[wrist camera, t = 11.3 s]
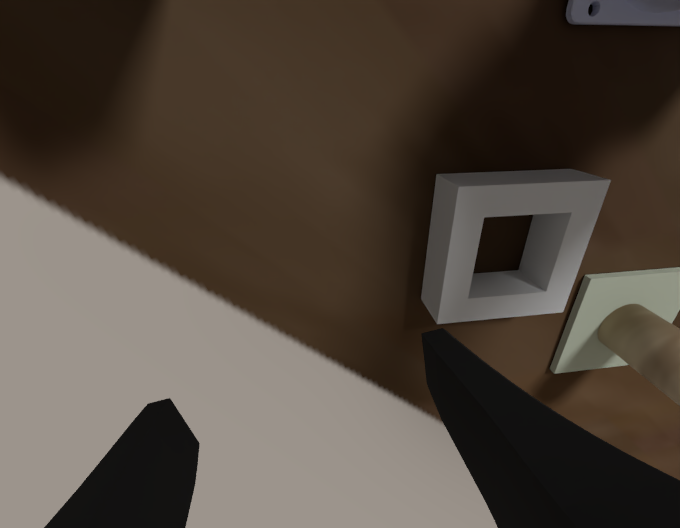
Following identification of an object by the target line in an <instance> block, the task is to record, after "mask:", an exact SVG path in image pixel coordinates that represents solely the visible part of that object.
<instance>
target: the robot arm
mask: <svg viewBox="0 0 680 528" xmlns="http://www.w3.org/2000/svg"><path fill="white" fill-rule="evenodd" d="M590 4H592V6H593V9H592V13H591V15H590V16H589V14H588V8H589V6H590ZM566 18H567V21H568V22H569V23H570V24H575V25H629V26H680V0H569V1H568V5H567V9H566ZM422 342H423V351H424V360H425V370H426V379H427V385H428V387H429V390H430V392H431V395H432V397H433V400H434V402H435V405H436V407H437V410H438V412H439V415H440V417H441V419H442V421H443V423H444V425H445V427H446V429H447V430H448V432H449V434H450V436H451V438H452V440H453V442H454V443H455V446H456V447H457V449H458V451H459V453H460V455H461V457H462V458H463V460H464V462H465V464H466V466H467V468H468V469H469V472H470V473H471V475H472V477H473V479H474V481H475V483H476V485H477V486H478V488H479V490H480V492H481V494H482V496H483V498H484V500H485V502H486V503H487V505H488V508H489V510H490V512H491V514H492V516H493V518H494V520H495V522H496V524H497V527H498V528H680V480H678V479H676V478H674V477H672V476H670V475H668V474H666V473H664V472H662V471H660V470H658V469H656V468H654V467H652V466H650V465H648V464H646V463H644V462H642V461H640V460H638V459H636V458H634V457H632V456H630V455H629V454H627V453H625V452H623V451H621V450H620V449H618V448H616V447H614V446H612V445H611V444H609V443H607V442H605V441H603V440H602V439H600V438H598V437H596V436H595V435H593V434H591V433H589V432H588V431H586V430H584V429H583V428H581V427H579V426H578V425H576V424H574V423H573V422H571V421H569V420H568V419H566V418H564V417H563V416H561V415H560V414H558V413H557V412H555V411H553V410H552V409H550V408H549V407H547V406H546V405H544V404H543V403H541V402H540V401H538V400H537V399H535V398H534V397H532V396H531V395H529V394H528V393H526V392H525V391H523V390H522V389H521V388H519V387H518V386H516V385H515V384H514V383H512V382H511V381H509V380H508V379H507V378H505V377H504V376H503V375H501V374H500V373H499V372H497V371H496V370H495V369H493V368H492V367H491V366H489V365H488V364H487V363H485V362H484V361H483V360H481V359H480V358H479V357H478V356H476V355H475V354H474V353H473V352H471V351H470V350H469V349H468V348H467V347H465V346H464V345H463V344H462V343H460V342H459V341H458V340H457V339H456V338H454V337H453V336H452V335H451V334H450V333H449V332H447V331H446V330H445V329H443V328H441V329H437V330H433V331H430V332H426V333H422ZM198 452H199V442H198V441H197V439H196V438H195V436H194V434H193V433H192V431H191V430H190V428H189V427H188V425H187V424H186V422H185V421H184V419H183V418H182V416H181V414H180V413H179V412H178V410H177V408H176V407H175V405H174V404H173V402H172V401H171V399H165V400H161V401H157V402H153V403H150V404H147V406H146V407H145V408H144V409H143V410H142V411H141V413H140V414H139V415H138V416H137V417H136V418H135V420H134V421H133V422H132V423H131V424H130V426H129V427H128V428H127V429H126V431H125V432H124V433H123V434H122V436H121V437H120V438H119V439H118V441H117V442H116V443H115V444H114V445H113V447H112V448H111V449H110V450H109V452H108V453H107V454H106V455H105V457H104V458H103V459H102V460H101V461H100V463H99V464H98V465H97V466H96V467H95V469H94V470H93V471H92V472H91V474H90V475H89V476H88V477H87V478H86V480H85V481H84V482H83V483H82V485H81V486H80V487H79V488H78V489H77V491H76V492H75V493H74V494H73V495H72V496H71V497H70V499H69V500H68V501H67V502H66V503H65V504H64V506H63V507H62V508H61V509H60V510H59V511H58V513H57V514H56V515H55V516H54V517H53V518H52V519H51V520H50V522H49V523H48V524H47V525H46V526H45V527H44V528H185V526H186V521H187V517H188V513H189V509H190V504H191V500H192V495H193V491H194V486H195V480H196V471H197V464H198V463H197V462H198Z"/></svg>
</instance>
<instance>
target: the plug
mask: <svg viewBox="0 0 680 528" xmlns="http://www.w3.org/2000/svg"><path fill="white" fill-rule="evenodd" d="M597 335H598V339H599V341H600V342H601V343H603V344H604V345H605V346H606V347H608V348H609V349H610V350H611V351H613V352H614V353H615V354H616V355H617V356H619V357H620V358H621V359H622V360H624V361H625V362H626V363H627V364H629V365H630V366H631V367H632V368H634V369H635V370H636V371H637V372H639V373H640V374H641V375H642V376H643V377H645V378H646V379H647V380H648V381H650V382H651V383H652V384H653V385H655V386H656V387H657V388H658V389H660V390H661V391H662V392H663V393H665V394H666V395H667V396H668V397H669V398H671V399H672V400H673V401H674V402H676V403H677V404H678V405H679V406H680V329H679V328H678V327H676V326H674V325H673V324H671V323H669V322H668V321H666V320H664V319H663V318H661V317H660V316H658V315H656V314H655V313H653V312H651V311H650V310H648V309H647V308H645V307H643V306H642V305H639V304H628V305H624V306H622V307H620V308H618V309H616V310H614V311H613V312H611V313H610V314H609V315H608V316H607V317H606V318H605V319H604V320H603V322H602V323H601V325H600V326H599V329H598V334H597Z"/></svg>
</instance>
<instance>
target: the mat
mask: <svg viewBox="0 0 680 528" xmlns="http://www.w3.org/2000/svg"><path fill="white" fill-rule="evenodd" d="M628 304H639V305H642V306H643V307H645V308H647V309H648V310H650V311H651V312H653V313H655V314H656V315H658V316H660V317H661V318H663V319H664V320H666V321H668V322H669V323H671V324H672V322H673V320H674V319H675V317H676V315H677V313H678V311H679V310H680V267H677V268H664V269H652V270H640V271H628V272H616V273H603V274H591V275H585V276H584V279H583V281H582V284H581V287H580V289H579V292H578V295H577V297H576V300H575V303H574V305H573V308H572V311H571V313H570V316H569V319H568V321H567V324H566V326H565V329H564V332H563V334H562V337H561V340H560V342H559V345H558V348H557V350H556V353H555V356H554V358H553V361H552V364H551V366H550V370H551V371H552V372H553V373H554V374H557V373H565V372H574V371H582V370H590V369H598V368H607V367H615V366H623V365H629V364H627V363H626V362H625V361H624V360H622V359H621V358H620V357H619V356H617V355H616V354H615V353H614V352H613V351H611V350H610V349H609V348H608V347H606V346H605V345H604V344H603V343H601V342H600V341H599V339H598V335H597V334H598V329H599V326H600V325H601V323H602V322H603V320H604V319H605V318H606V317H607V316H608V315H609V314H610V313H611V312H613V311H614V310H616V309H618V308H620V307H622V306H624V305H628Z"/></svg>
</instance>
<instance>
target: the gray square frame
mask: <svg viewBox="0 0 680 528" xmlns="http://www.w3.org/2000/svg"><path fill="white" fill-rule="evenodd" d="M610 182H611V180H609V179H606V178H602V177H599V176H595V175H592V174H588V173H585V172H581V171H578V170H574V169H551V170H526V171H500V172H475V173H449V174H436V182H435V190H434V198H433V206H432V214H431V222H430V230H429V238H428V246H427V254H426V262H425V270H424V278H423V286H422V294H421V300H422V301H423V303H424V305H425V306H426V308H427V309H428V311H429V312H430V314H431V316H432V317H433V319H434V320H435V322H436V323H437V324H445V323H455V322H466V321H476V320H486V319H497V318H507V317H518V316H528V315H538V314H549V313H559V312H563V311H564V308H565V305H566V303H567V300H568V297H569V294H570V292H571V289H572V286H573V283H574V281H575V278H576V275H577V272H578V270H579V267H580V264H581V261H582V259H583V256H584V253H585V250H586V248H587V245H588V242H589V239H590V237H591V234H592V231H593V228H594V226H595V223H596V220H597V217H598V215H599V212H600V209H601V206H602V204H603V201H604V198H605V195H606V193H607V190H608V187H609V184H610ZM518 215H533V218H532V222H531V225H530V229H529V233H528V236H527V240H526V244H525V248H524V251H523V255H522V259H521V262H520V266H519V270H513V271H500V272H487V273H474V274H473V271H474V266H475V261H476V256H477V251H478V246H479V241H480V236H481V231H482V226H483V221H484V217H500V216H518Z"/></svg>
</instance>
